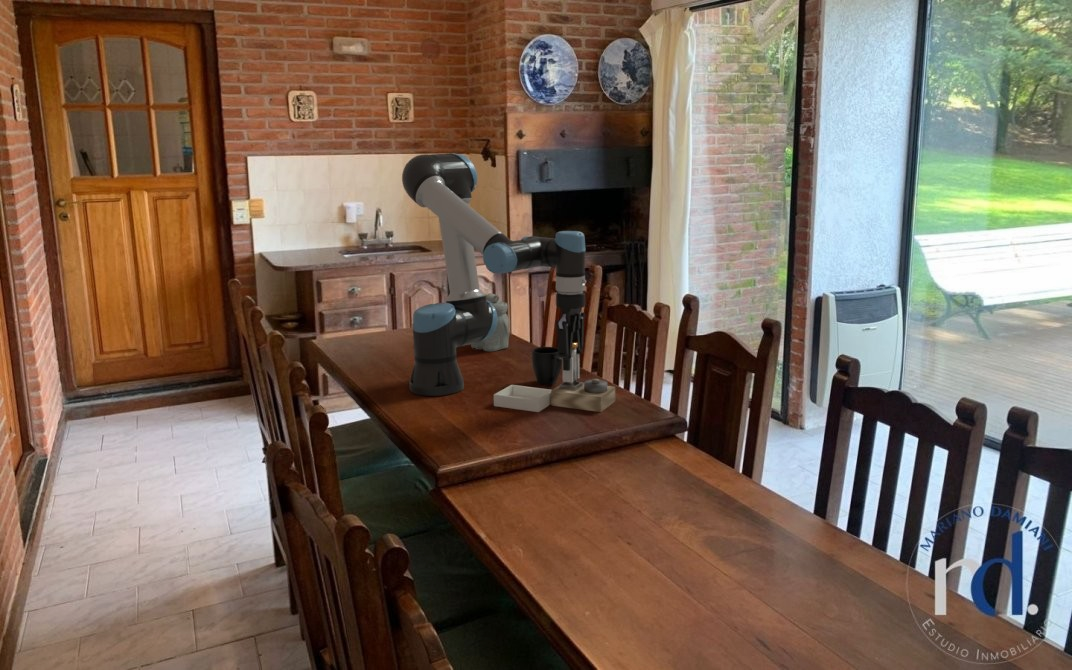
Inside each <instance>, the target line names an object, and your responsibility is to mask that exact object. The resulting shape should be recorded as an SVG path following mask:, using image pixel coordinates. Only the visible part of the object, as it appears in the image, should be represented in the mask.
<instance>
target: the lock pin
mask: <svg viewBox="0 0 1072 670" xmlns="http://www.w3.org/2000/svg"><path fill="white" fill-rule="evenodd" d="M577 347H578V342H574V341H572V356H571V358H573V382H572V383H571V382H566V385H569V386H576V381H577V379H576V348H577Z"/></svg>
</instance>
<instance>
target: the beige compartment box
mask: <svg viewBox="0 0 1072 670" xmlns="http://www.w3.org/2000/svg"><path fill="white" fill-rule="evenodd" d="M550 390H551V404H550V405H551V406H553V407H560V408H568V409H576V410H584V411H591V412H598V413H602V412H603V411H604V410H605V409H607V408H609V407H610V406H611V405H613V404H614V403H615V402H616V386H612V385H608V381H606V380H603V379H599V378H592V379H588V380H586V381H584V382H583V381H578V380H576V386H569V385H566V382H563V381H562V382H561V383H560V384H558V386H556V387H555V388H553V389H550Z"/></svg>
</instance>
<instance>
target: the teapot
mask: <svg viewBox="0 0 1072 670" xmlns="http://www.w3.org/2000/svg"><path fill="white" fill-rule="evenodd" d="M485 294H486V300H487V301H489V302H491V303H492V306H493V307H495V309H496V312H497V326H496V329H495V331H494V332H493V334H492V335H491V336H490V337H489V338H487V339H485V340H482V341H480V342H478V343H471V344H470V346H471V348H472V349H473V348H476V349H475V350H482V349H483V350H482V351H483V352H496V351H499V350H505V349H507V348H509V339H510V338H509V337H510V331H509V327H510V319H509V316H508V315H507V311H508V308H509V307H508V303H507V302H505V301H500V296H499V295H497V294H495V293H491V292H490V293H488V294H487V293H485Z"/></svg>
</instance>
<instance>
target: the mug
mask: <svg viewBox="0 0 1072 670" xmlns="http://www.w3.org/2000/svg"><path fill="white" fill-rule="evenodd" d="M531 360H532V361H531V364H532V368H533V372H534V375H535V378H536V379H535V380H536V383H537V384H539V385H543V386H550V385H554V384H556V383H557V382H558V378H559V376H560V372H561V370H562V369H561V368H562V367H563V361H562V358H560V357H559V356H558V347H555V346H539V347H536V348H533V349H532V350H531Z"/></svg>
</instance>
